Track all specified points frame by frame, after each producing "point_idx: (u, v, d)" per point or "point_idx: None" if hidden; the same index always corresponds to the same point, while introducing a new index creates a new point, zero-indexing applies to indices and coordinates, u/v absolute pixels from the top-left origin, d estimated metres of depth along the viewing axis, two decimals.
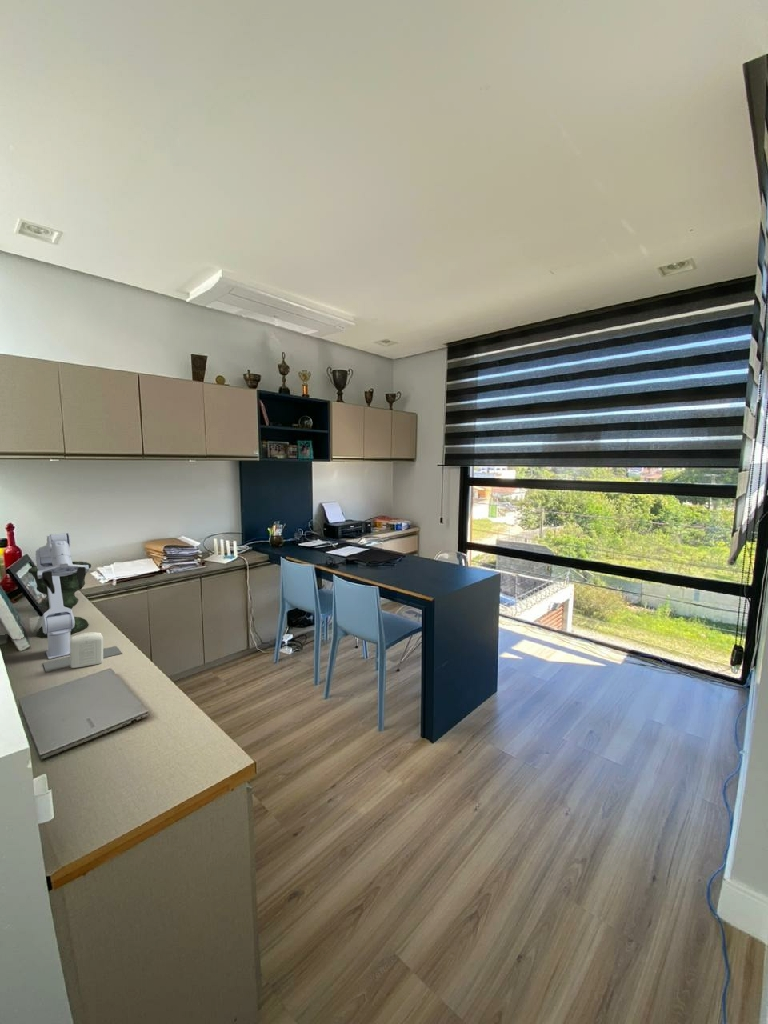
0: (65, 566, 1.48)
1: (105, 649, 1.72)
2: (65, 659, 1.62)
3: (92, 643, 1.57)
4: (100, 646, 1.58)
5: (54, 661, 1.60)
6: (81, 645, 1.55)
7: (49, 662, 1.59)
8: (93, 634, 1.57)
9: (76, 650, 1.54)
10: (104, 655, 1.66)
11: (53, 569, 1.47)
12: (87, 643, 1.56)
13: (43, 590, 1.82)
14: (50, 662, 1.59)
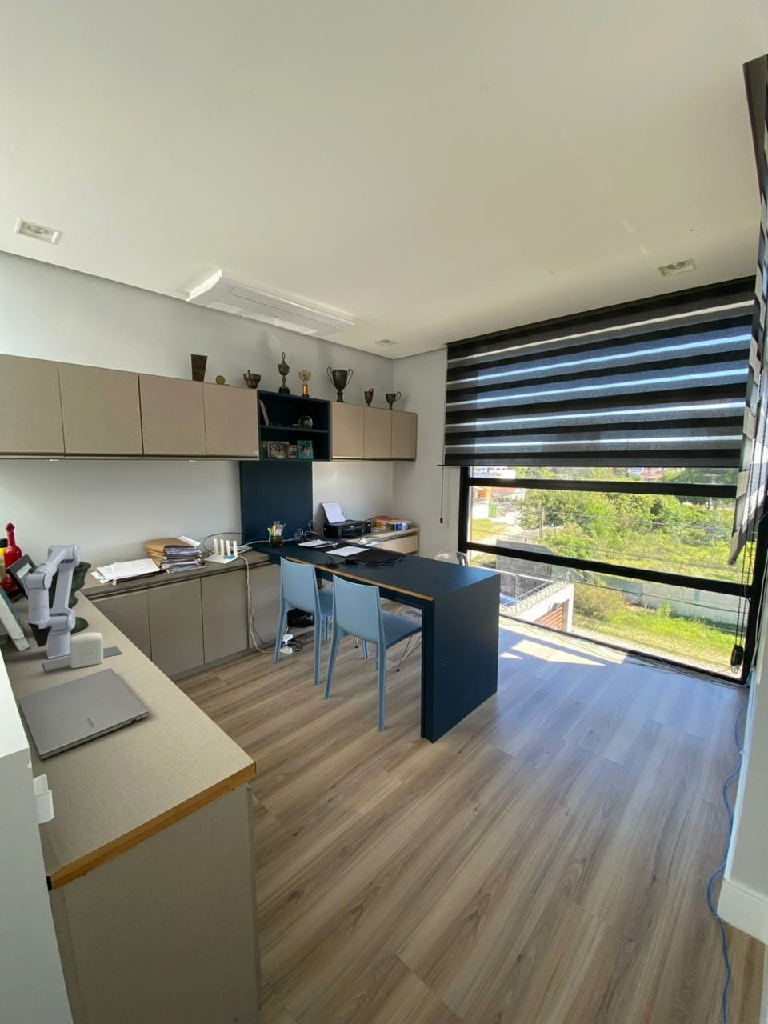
0: None
1: (105, 649, 1.72)
2: (65, 659, 1.62)
3: (92, 643, 1.56)
4: (100, 646, 1.58)
5: (54, 661, 1.60)
6: (81, 645, 1.55)
7: (49, 662, 1.59)
8: (93, 634, 1.57)
9: (76, 651, 1.54)
10: (104, 655, 1.66)
11: None
12: (86, 643, 1.55)
13: None
14: (50, 662, 1.59)
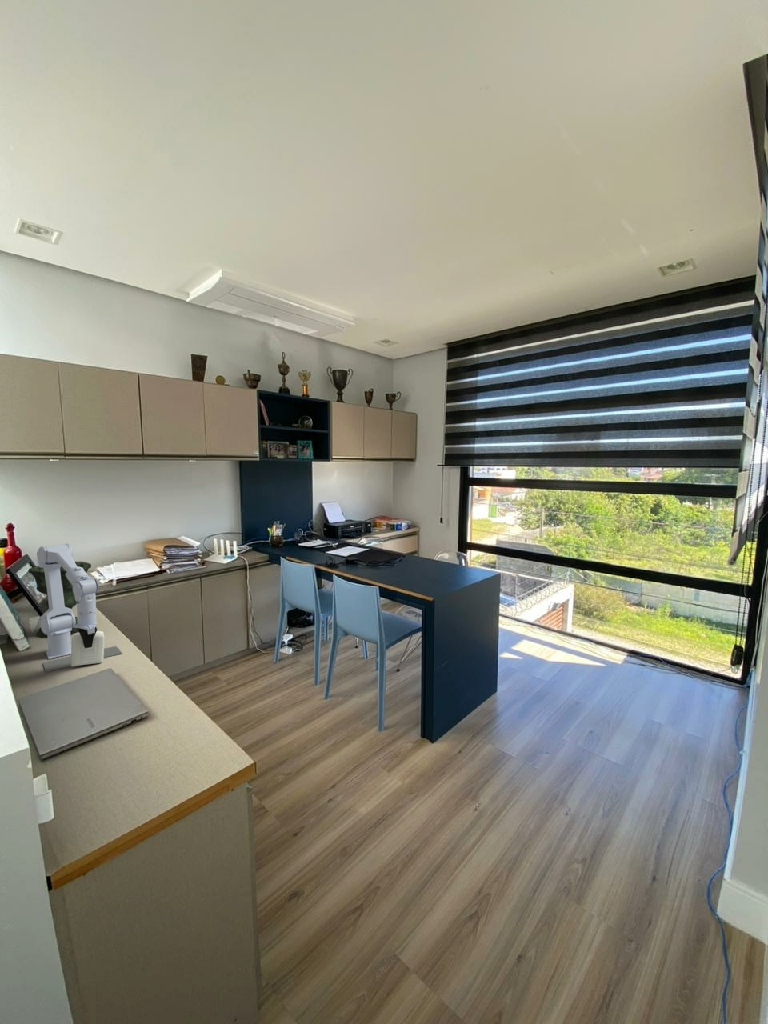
0: None
1: (105, 649, 1.72)
2: (65, 659, 1.62)
3: (94, 640, 1.58)
4: (101, 644, 1.60)
5: (54, 661, 1.60)
6: None
7: (49, 662, 1.59)
8: None
9: (78, 647, 1.55)
10: (104, 655, 1.66)
11: None
12: None
13: (43, 590, 1.82)
14: (50, 662, 1.59)
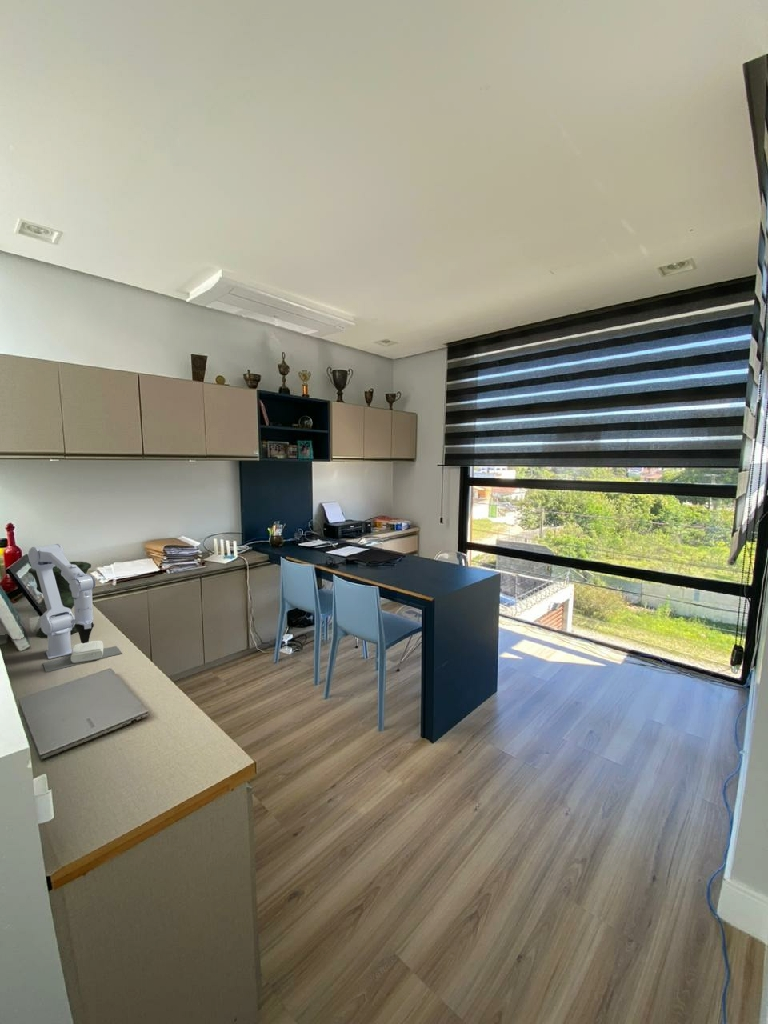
0: None
1: (105, 649, 1.72)
2: (65, 659, 1.62)
3: (93, 642, 1.68)
4: (100, 643, 1.68)
5: (54, 661, 1.60)
6: (83, 644, 1.66)
7: (49, 662, 1.59)
8: None
9: (78, 646, 1.64)
10: (104, 655, 1.66)
11: None
12: (88, 642, 1.68)
13: None
14: (50, 662, 1.59)
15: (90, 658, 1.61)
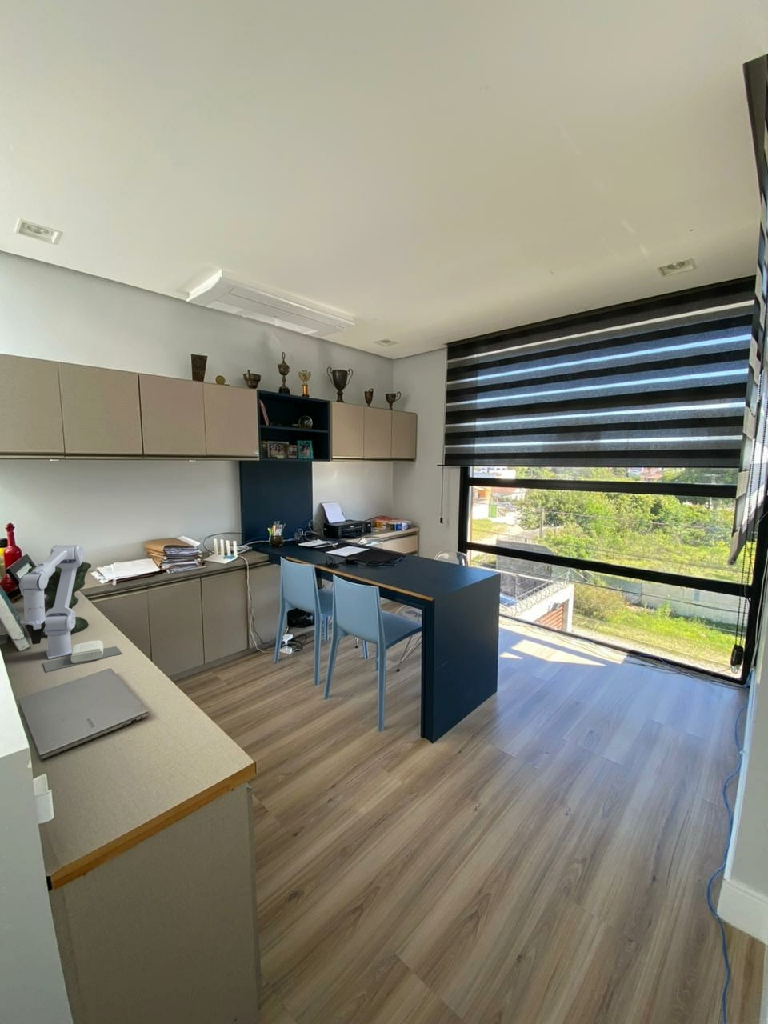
0: None
1: (105, 649, 1.72)
2: (65, 659, 1.62)
3: (93, 642, 1.68)
4: (100, 643, 1.68)
5: (54, 661, 1.60)
6: (82, 644, 1.66)
7: (49, 662, 1.59)
8: None
9: (78, 646, 1.64)
10: (104, 655, 1.66)
11: None
12: (88, 642, 1.68)
13: None
14: (50, 662, 1.59)
15: (90, 658, 1.61)
